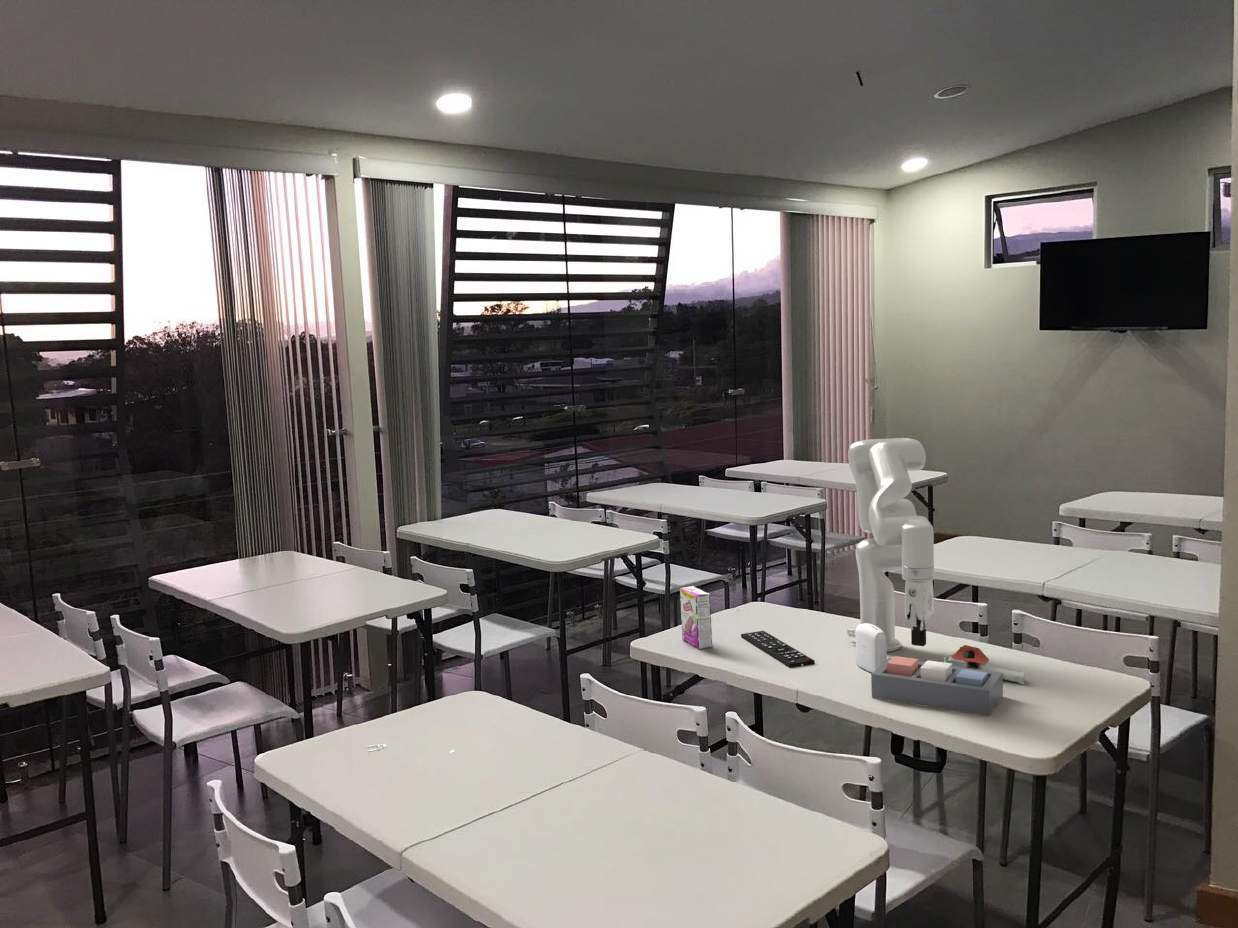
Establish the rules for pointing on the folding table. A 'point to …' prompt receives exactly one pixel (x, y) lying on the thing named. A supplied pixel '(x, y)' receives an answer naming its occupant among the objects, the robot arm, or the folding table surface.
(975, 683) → the blue key
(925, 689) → the key panel
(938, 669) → the white key
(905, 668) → the red key
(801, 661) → the remote control
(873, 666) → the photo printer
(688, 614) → the candy bar box
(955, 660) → the tape dispenser
